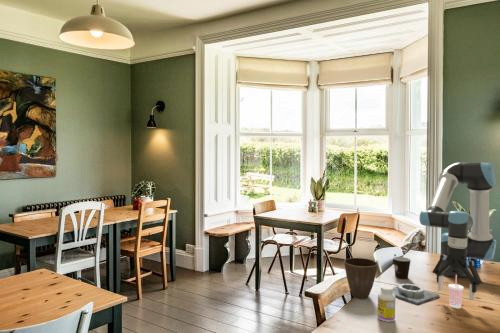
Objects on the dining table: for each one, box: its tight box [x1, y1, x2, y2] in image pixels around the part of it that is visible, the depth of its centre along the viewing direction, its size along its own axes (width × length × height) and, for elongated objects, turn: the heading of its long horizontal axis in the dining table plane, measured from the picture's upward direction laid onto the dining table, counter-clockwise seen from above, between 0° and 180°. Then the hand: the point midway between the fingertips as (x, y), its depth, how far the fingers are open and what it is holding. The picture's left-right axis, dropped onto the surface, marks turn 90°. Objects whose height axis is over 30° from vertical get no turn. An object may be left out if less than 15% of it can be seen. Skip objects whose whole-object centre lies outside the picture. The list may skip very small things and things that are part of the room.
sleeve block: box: [393, 283, 440, 306], centre depth 184 cm, size 18×18×4 cm
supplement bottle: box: [377, 285, 396, 323], centre depth 156 cm, size 7×7×13 cm
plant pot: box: [343, 257, 378, 299], centre depth 181 cm, size 15×15×16 cm
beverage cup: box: [447, 275, 464, 309], centre depth 171 cm, size 6×6×14 cm
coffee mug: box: [392, 256, 411, 280], centre depth 213 cm, size 12×9×10 cm
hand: (455, 294), depth 171 cm, fingers open, 13 cm apart
